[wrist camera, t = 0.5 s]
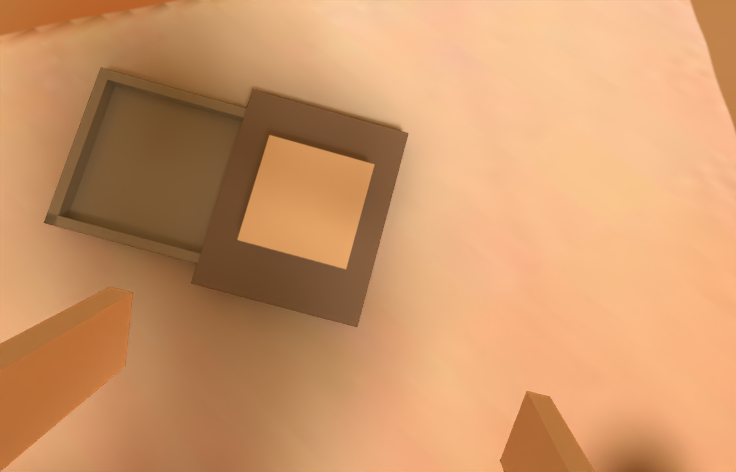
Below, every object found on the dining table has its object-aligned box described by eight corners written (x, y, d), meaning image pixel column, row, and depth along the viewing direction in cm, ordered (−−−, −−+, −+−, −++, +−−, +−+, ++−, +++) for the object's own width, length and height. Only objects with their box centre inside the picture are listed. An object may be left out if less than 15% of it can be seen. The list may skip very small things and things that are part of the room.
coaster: (345, 269, 32) (346, 269, 29) (245, 242, 32) (237, 239, 29) (372, 173, 33) (374, 164, 30) (274, 145, 32) (269, 134, 30)
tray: (204, 264, 33) (198, 263, 32) (57, 225, 33) (43, 222, 31) (251, 115, 35) (247, 108, 33) (111, 76, 34) (100, 67, 33)
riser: (356, 324, 33) (357, 327, 31) (200, 283, 33) (191, 283, 31) (404, 141, 35) (408, 133, 33) (257, 100, 35) (252, 89, 33)
